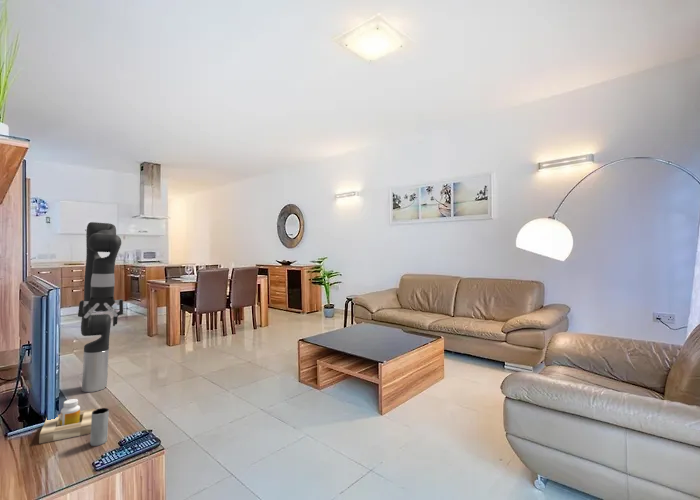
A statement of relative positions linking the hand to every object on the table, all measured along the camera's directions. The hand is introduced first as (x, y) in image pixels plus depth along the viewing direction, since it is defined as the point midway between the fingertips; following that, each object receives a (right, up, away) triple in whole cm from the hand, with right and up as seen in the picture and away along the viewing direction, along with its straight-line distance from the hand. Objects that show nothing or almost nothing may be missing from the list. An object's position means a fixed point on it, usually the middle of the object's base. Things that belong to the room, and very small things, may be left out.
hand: (100, 326), depth 135 cm
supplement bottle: (-1, -33, -14) cm, 36 cm away
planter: (+15, -34, -21) cm, 42 cm away
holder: (-1, -33, -14) cm, 36 cm away
